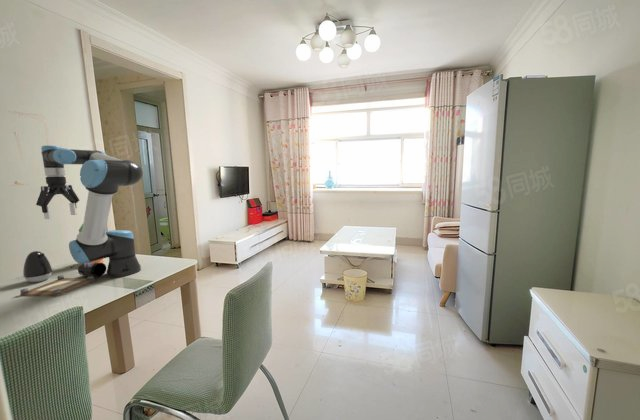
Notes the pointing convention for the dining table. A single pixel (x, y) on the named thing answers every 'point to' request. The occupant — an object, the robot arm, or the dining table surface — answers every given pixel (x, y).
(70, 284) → the wooden tray
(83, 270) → the supplement container
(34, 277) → the black egg-shaped dome
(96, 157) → the robot arm
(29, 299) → the dining table surface
